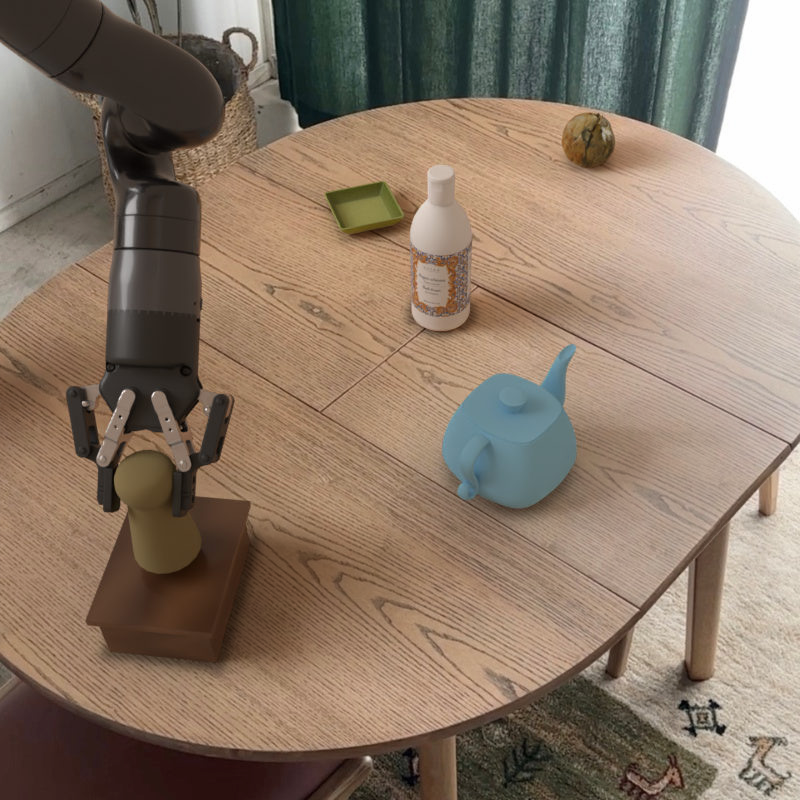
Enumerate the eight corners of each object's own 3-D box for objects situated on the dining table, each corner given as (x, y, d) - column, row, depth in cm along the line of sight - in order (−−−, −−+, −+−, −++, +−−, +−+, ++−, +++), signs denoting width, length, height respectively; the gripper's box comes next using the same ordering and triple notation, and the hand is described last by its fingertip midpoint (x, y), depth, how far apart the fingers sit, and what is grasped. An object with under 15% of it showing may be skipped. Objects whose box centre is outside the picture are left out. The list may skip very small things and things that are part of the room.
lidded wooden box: (100, 656, 96) (85, 620, 91) (147, 528, 105) (135, 490, 101) (221, 669, 94) (211, 633, 90) (257, 538, 104) (249, 500, 100)
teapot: (626, 367, 104) (516, 475, 95) (613, 439, 112) (510, 546, 103) (523, 313, 110) (410, 410, 101) (517, 385, 118) (412, 481, 109)
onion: (622, 150, 149) (629, 99, 143) (605, 181, 144) (612, 130, 138) (570, 139, 151) (575, 89, 146) (552, 169, 146) (557, 118, 141)
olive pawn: (200, 513, 97) (178, 433, 89) (203, 567, 93) (180, 489, 85) (133, 523, 96) (105, 444, 88) (133, 578, 92) (103, 500, 84)
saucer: (386, 192, 144) (385, 179, 142) (406, 229, 138) (405, 216, 136) (324, 205, 142) (322, 192, 140) (341, 243, 136) (340, 230, 135)
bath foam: (403, 325, 125) (398, 183, 111) (423, 289, 129) (421, 148, 115) (458, 339, 123) (461, 196, 109) (477, 301, 128) (482, 160, 113)
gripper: (51, 302, 84) (43, 514, 85) (228, 310, 83) (218, 525, 84) (87, 308, 92) (79, 503, 92) (250, 315, 90) (241, 513, 91)
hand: (146, 512), depth 88 cm, fingers closed on olive pawn, 5 cm apart
